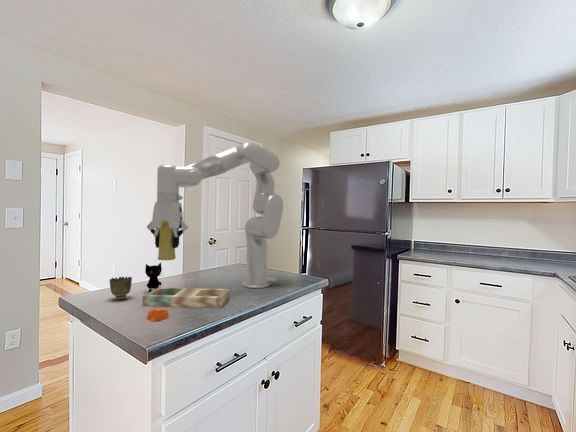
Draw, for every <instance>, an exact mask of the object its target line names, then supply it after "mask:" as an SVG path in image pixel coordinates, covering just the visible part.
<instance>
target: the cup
mask: <svg viewBox="0 0 576 432" xmlns="http://www.w3.org/2000/svg"><path fill="white" fill-rule="evenodd" d="M132 282H133V277H132V276H119V277H112V278H110V279H109V287H110V293H111V295H113V296H114V299H115V300H116V301H124V300H125V299H127V295H128V294H129V293H130V291H131V287H132Z"/></svg>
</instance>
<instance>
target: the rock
mask: <svg viewBox="0 0 576 432" xmlns="http://www.w3.org/2000/svg"><path fill="white" fill-rule="evenodd" d="M168 317H169V310H168V309H167V308H166V309H164V308H157V307H152V308H151V309H150V310H149V311H148V313H147V316H146V320H148V321H150V322H151V323H152V322H153V323H154V322H156V323H157V322H159V321H164V320H167V319H168Z"/></svg>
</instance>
